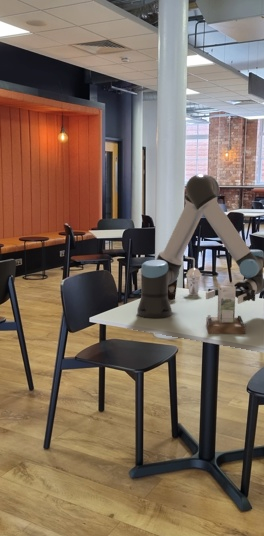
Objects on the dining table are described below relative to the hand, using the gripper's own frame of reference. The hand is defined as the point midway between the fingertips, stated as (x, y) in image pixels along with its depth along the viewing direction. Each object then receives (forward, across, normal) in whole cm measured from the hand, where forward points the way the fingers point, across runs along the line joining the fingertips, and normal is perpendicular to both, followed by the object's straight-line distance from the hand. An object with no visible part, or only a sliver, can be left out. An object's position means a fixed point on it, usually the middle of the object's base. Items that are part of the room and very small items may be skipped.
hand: (222, 297), depth 205 cm
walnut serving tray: (-3, 0, -13) cm, 13 cm away
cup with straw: (-56, +44, -13) cm, 73 cm away
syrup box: (-3, 0, -10) cm, 11 cm away
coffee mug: (-39, +50, -13) cm, 64 cm away
